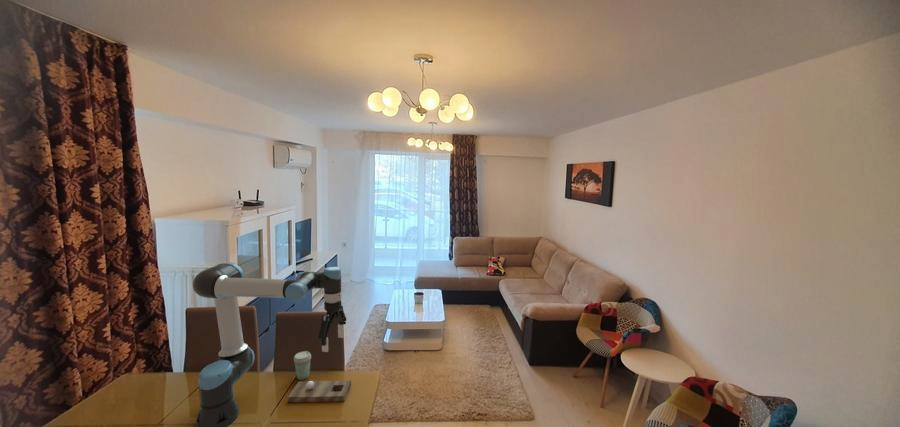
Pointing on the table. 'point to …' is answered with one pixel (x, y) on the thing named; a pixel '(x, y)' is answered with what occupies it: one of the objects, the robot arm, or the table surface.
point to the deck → (320, 391)
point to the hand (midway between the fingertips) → (333, 344)
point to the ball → (310, 385)
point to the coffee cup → (302, 364)
